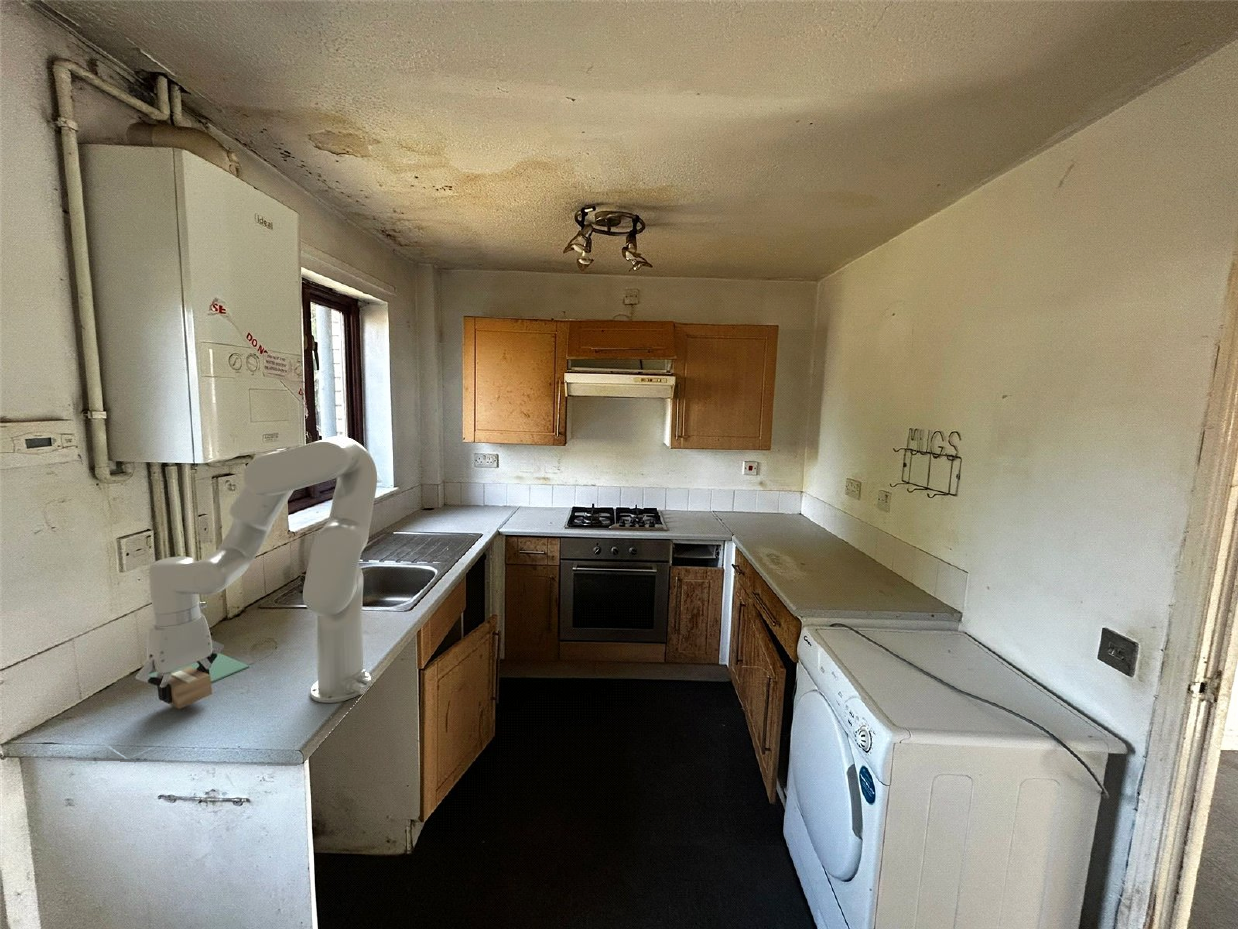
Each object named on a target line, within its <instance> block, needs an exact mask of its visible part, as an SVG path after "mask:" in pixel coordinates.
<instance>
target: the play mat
mask: <svg viewBox="0 0 1238 929" xmlns="http://www.w3.org/2000/svg"><path fill="white" fill-rule="evenodd" d="M211 665H212V666H211V668H210V669H209V673H210V677H211V684H213V683H214V682H217V681H219V680H221V679H224V678H227V677H229V676H232V675H233V674H236V673H238V672H241V671H243V670H246V669H249V667H250V665H248V664H246V663H243V662H241V661H239V660H236V659H234V658H231V657H229V656H227V655H225V654H222V653H221V652H220V653H219V654H218V655H217V658H216V659H215V660H214V661H213V663H212V664H211ZM188 667H193V668H195V669H197V667H199V665H198V664H197V662H195V663H192V664H190V665H187V666H185V667H182V668H179V669H177V670H174V671H172V672H171V674H173V673H175V672H178V671H181V670H183V669H186V668H188ZM156 674H157V670H155V671H153V672H150V673H149V675H150V676H153V677H156Z"/></svg>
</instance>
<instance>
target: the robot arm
mask: <svg viewBox="0 0 1238 929" xmlns="http://www.w3.org/2000/svg"><path fill="white" fill-rule="evenodd" d="M334 479H336V485H335V488H334V491H333V492H334V493H333V495H332V502H331V509H330V512H329V515H328V516H329V517H328V520H327V522H326V524H325V525H324V526H323V527H322V528H321V529H320V530H319V531H318V532H317V534H316V536H315V537H314V539H313V542H312V545H311V548H310V552H309V557H308V563H307V569H306V573H305V580H304V584H303V590H302V591H303V592H302V597H303V598H302V599H303V603H304V605H305V607H306V608H307V609H308V611H309V612H311V613H312V614H314V615H315V635H316V636H315V638H316V640H315V641H316V664H317V666H316V667H317V681H315V683H313V684H312V685H311V688H310V692H309V693H310V698H312V700H314V701H316V702H319V703H323V704H324V703H325V704H331V703H339V702H340V703H341V702H344V701H348V700H351V699H353V698H355V697H357V696H359V695H363V694H365V693H366V692H367V690H368V689H369V688H370V686H371V685H372V683H373V681H372V678H371V675H370V673H368V672H367V671H366V669H364V636H363V597H364V596H363V595H364V574H363V570H362V568H361V566H360V560H361V556H362V553H363V551H364V549H365V548H366V546H367V543H368V541H369V534H370V527H371V522H372V517H373V513H374V512H373V511H374V505H375V504H374V503H375V500H376V493H377V485H378V470H377V467H376V462H375V460H374V459H373V457H372V455H371V453H370V452H369V451H368V450H367V449H366V448H365V447H364V446H363V445H362V444H361V443H359V442H357V441H356V440H354V439H353V438H349V437H348V436H347V437H346V436H341V435H338V436H330V437H327V438H324V439H320V440H317V441H313V442H311V443H306V444H302V445H300V446H296V447H292V448H288V449H285V450H284V449H283V450H279V451H272V452H267V453H264V454H261V455H259V456H255V457H254V458H253V459H251V460H250V461H249V462H248V464H246V466H245V468H244V471H243V482H244V486H243V488H241V491H240V492H239V493H238V495H237V497H236V498H235V500H234V501H233V503H232V504H231V506H230V508H229V514H230V516H231V518H232V522H231V525H230V528H229V529H228V531H227V534H226V535H225V537H224V538H223V539H222V540H221V541H222V542H221V543H220V545H218V547H217V549H216V550H215V551H214V552H212V553H210V554H209V555H207V556H206V557H204V558H202V559H200V560H198V561H195V559H194V558H193V557H190V556H171V557H166V558H162V559H159V560H155V561H154V562H153V563H151V565H149V567H148V579H149V580H148V581H149V587H150V589H149V590H150V597H151V605H152V606H151V607H152V615H153V625H150V626H149V628H148V632H147V640H146V641H147V642H146V663H145V664H144V665H143V667H142V668H141V669H140V670H139V671H138V672H137V674H136V675H135V679H136V680H137V681H140V682H144V683H147V684H150V685H154V686H156V687H157V694H158V699H159V701H163V702H164V703H166V704H168V705H170V704H169V703H171V702H172V693H171V685H170V684H168V681H169V678H170V675H171V672H172V671H174V670H177V669H179V668H182V667H185V666H187V665H190V664H192V663H195V662H197V664H198V665H199V667H197V670H199V671H201V672H204V673H207V674H209V675H210V673H209V669H210V668H211V666H212V665H211V664H212V663H213V661H214V660H215V659H216V658H217V655H218V654H219V653H220V654H221V652H222V650H223V649H224V647H225V646H224V644H222V643H220V642H218V641H215V640H213V639H212V636H211V632H210V631H211V630H210V627H209V624H208V621H207V619H206V617H205V614H204V613H203V612H202V610H203V609H204V608H207V607H208V602H206V601H200V595H204V596H207V595H209V596H210V595H216V594H219V593H220V592H222V591H223V590H226V588H227V587H229V586H230V585H231V584H233V582H234V581H236V580H238V579H239V578H241V576H242V575H243V574H244V573H246V571H247V570H248V569H249V568H250V565H251V564H252V563H253V561H254V560H255V559H256V556H257V555H258V553H259V552H260V550H261V548H262V547H263V546H264V543H265V541H266V540H267V537H268V536H269V533H270V532H271V531H272V527H273V525H274V523H275V521H276V519H277V518H278V517H279V515H280V514H281V512H282V510H283V509H284V507H285V505H286V504H287V502H288V501H289V499H290V497H291V496H292V494H293V492H294V491H296V490H301V489H303V488H306V487H311V486H314V485H317V484H321V483H325V482H328V481H329V482H330V481H332V480H334ZM152 671H157V674H156V677H153V676H150V675H149V674H151V673H152Z"/></svg>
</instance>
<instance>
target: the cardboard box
mask: <svg viewBox="0 0 1238 929" xmlns="http://www.w3.org/2000/svg"><path fill="white" fill-rule="evenodd" d="M168 684H170V685H171V693H172V702H171V703H169V704H168V705H170V706H172V707H175V708H177V709H179V710H181V709H182V708H184V707H187V706H189V705H191V704H193V703H195V702H198V701H200V700H202V699H204V698H207V697H209V696H211V695H212V694H213V689H212V683H211V677H210V675H209V674H207V673H204V672H201V671H199V670H197V669H195V668H193V667H188V668H186V669H183V670H181V671H178V672H175V673H173V674H171V675H170V678H169V681H168Z"/></svg>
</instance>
